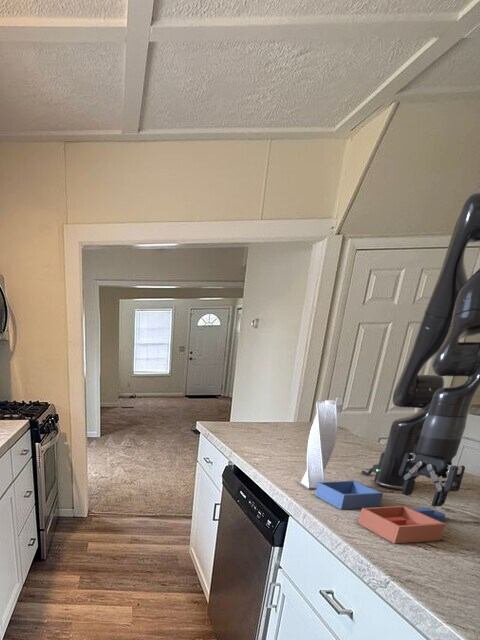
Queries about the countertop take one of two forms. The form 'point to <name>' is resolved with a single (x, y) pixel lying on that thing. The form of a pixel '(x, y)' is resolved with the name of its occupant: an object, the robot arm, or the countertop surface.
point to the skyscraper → (321, 442)
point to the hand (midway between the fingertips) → (420, 500)
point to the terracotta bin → (406, 533)
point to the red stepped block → (401, 521)
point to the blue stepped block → (431, 513)
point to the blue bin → (348, 494)
